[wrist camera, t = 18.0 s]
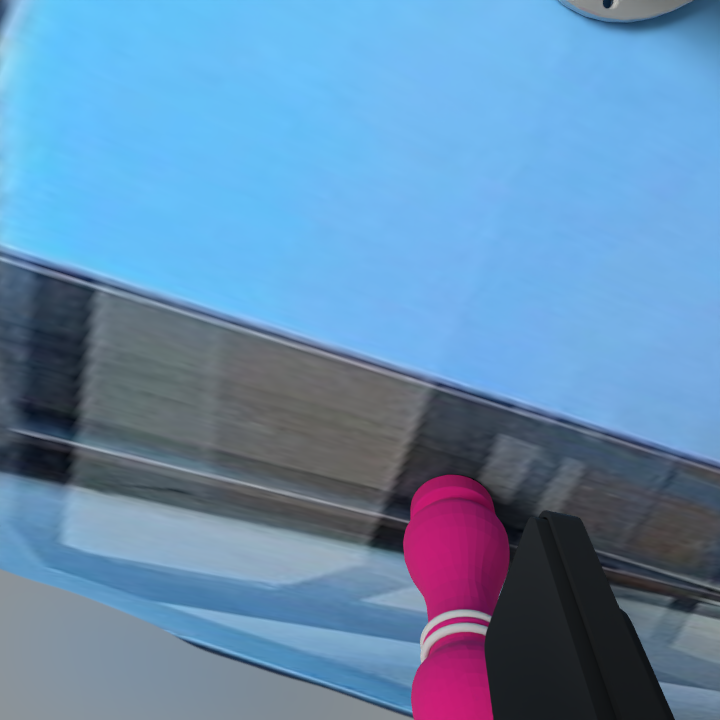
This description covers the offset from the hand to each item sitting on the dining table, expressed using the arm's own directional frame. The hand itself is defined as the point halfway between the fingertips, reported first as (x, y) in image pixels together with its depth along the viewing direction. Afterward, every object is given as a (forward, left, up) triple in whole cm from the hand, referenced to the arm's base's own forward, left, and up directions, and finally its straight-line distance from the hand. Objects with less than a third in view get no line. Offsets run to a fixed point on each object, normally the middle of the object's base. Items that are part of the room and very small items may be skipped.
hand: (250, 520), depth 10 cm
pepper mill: (+19, +10, -28) cm, 36 cm away
